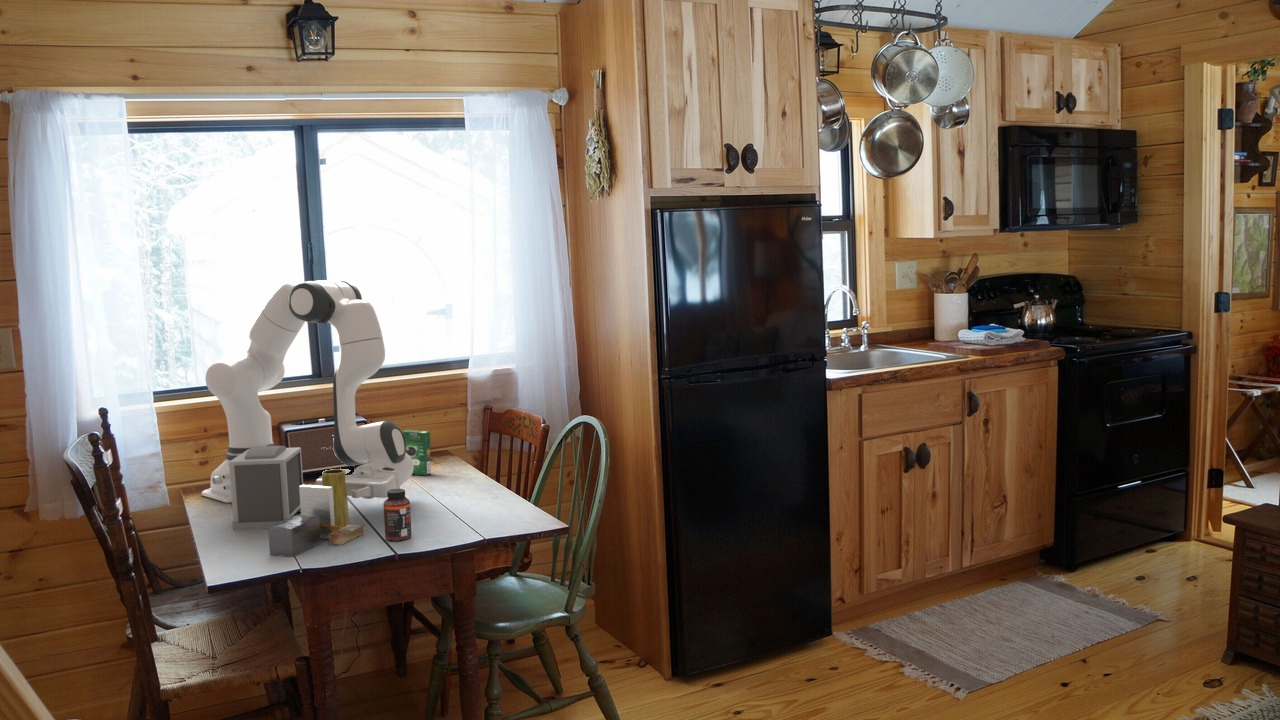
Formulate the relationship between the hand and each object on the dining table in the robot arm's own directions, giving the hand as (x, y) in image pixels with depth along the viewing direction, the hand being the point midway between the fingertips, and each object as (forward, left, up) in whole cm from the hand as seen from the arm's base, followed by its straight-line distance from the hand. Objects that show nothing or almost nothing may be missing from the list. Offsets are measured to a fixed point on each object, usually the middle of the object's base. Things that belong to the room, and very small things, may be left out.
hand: (337, 493), depth 241 cm
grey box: (-23, -1, -9) cm, 25 cm away
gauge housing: (+4, -17, -9) cm, 19 cm away
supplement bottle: (+19, 0, -9) cm, 21 cm away
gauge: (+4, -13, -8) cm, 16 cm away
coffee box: (-22, +52, -9) cm, 57 cm away
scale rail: (+9, -6, -9) cm, 14 cm away
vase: (0, -1, -9) cm, 9 cm away
